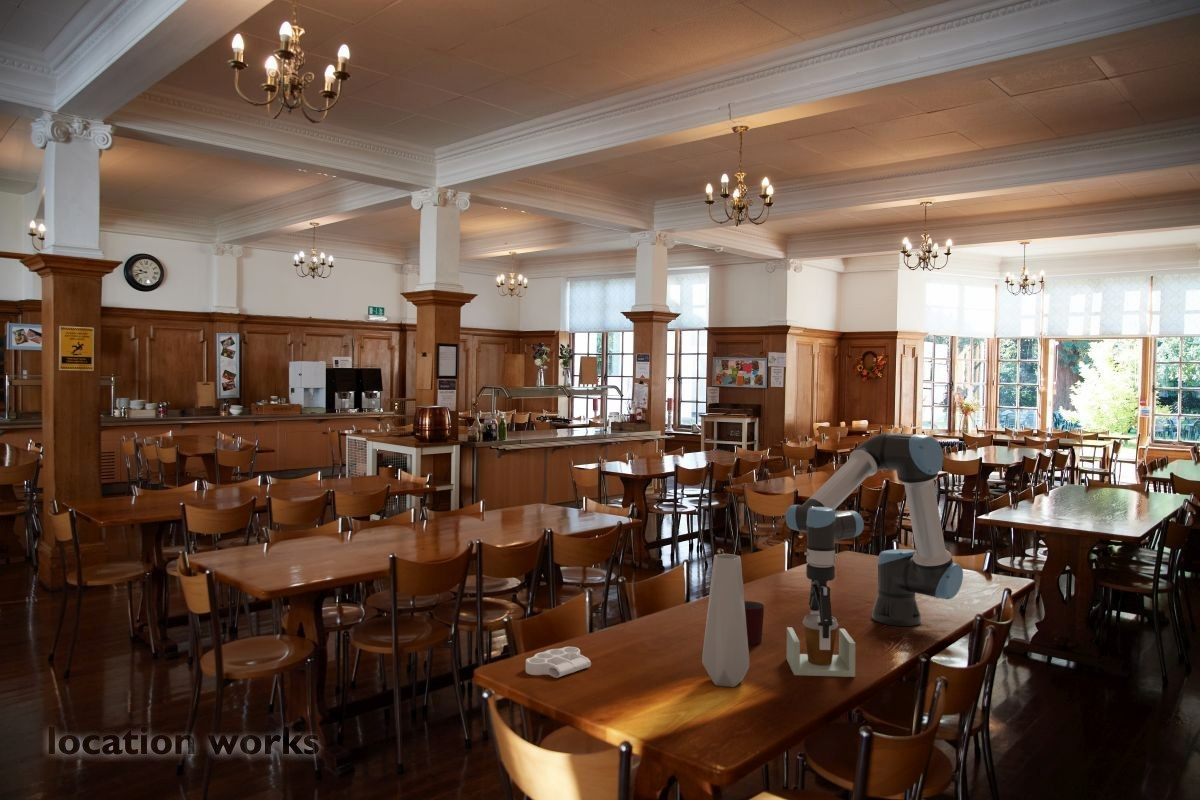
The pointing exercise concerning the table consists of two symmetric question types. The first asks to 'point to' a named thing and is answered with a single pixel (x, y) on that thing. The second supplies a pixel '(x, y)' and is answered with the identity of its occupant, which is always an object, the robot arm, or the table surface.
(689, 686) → the table surface
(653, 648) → the table surface
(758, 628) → the mug
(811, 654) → the disposable coffee cup
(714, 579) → the vase
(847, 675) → the holder
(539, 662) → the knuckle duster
